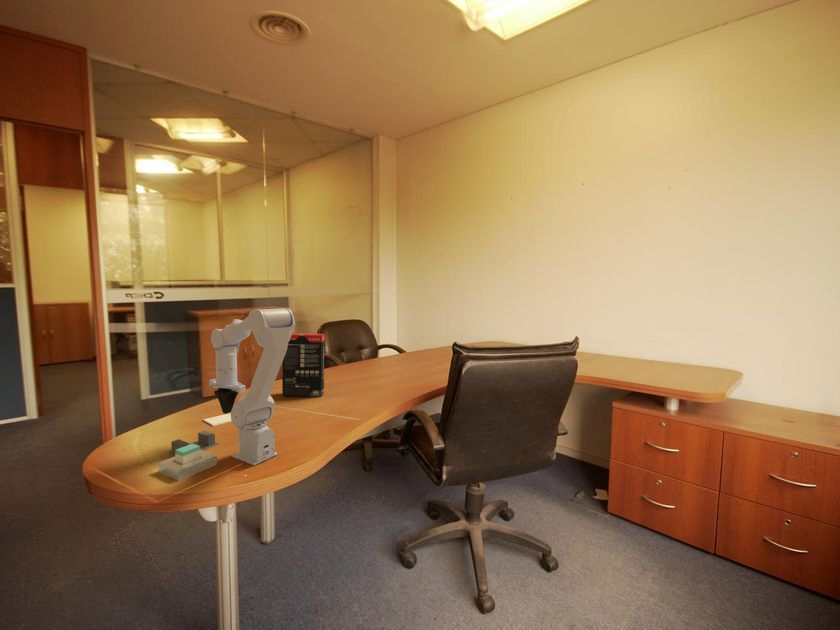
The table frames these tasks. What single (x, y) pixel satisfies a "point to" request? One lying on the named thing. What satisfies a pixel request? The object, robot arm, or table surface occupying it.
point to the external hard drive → (218, 419)
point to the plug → (187, 454)
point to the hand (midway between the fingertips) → (227, 412)
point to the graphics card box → (304, 365)
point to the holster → (196, 442)
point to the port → (187, 466)
